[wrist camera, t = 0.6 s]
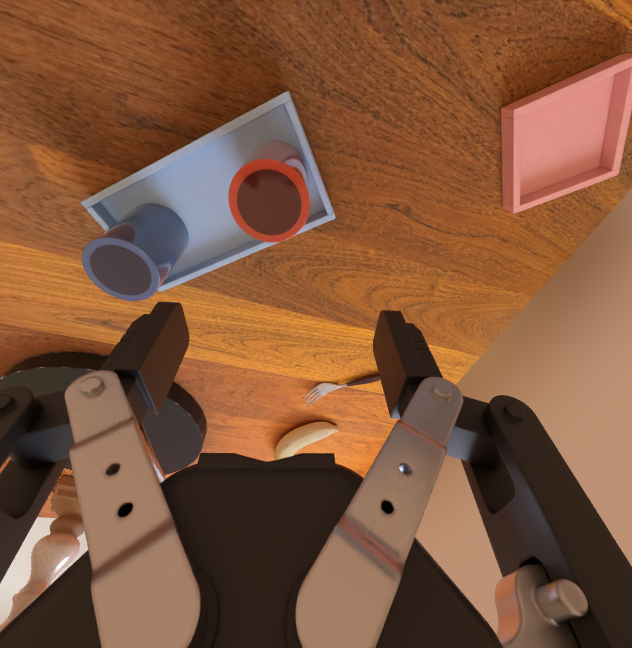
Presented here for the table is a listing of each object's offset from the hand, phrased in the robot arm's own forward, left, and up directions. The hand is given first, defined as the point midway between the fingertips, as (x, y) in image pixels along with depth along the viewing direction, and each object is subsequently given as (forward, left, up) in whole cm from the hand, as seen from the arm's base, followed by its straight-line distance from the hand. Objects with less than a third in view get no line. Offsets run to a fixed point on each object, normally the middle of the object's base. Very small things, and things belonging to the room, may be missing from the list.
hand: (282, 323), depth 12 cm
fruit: (+40, -17, -20) cm, 48 cm away
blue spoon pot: (-2, -14, -20) cm, 24 cm away
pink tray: (+5, +23, -20) cm, 31 cm away
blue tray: (-2, -7, -20) cm, 22 cm away
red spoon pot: (-2, -1, -20) cm, 20 cm away
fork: (+28, -3, -20) cm, 35 cm away
